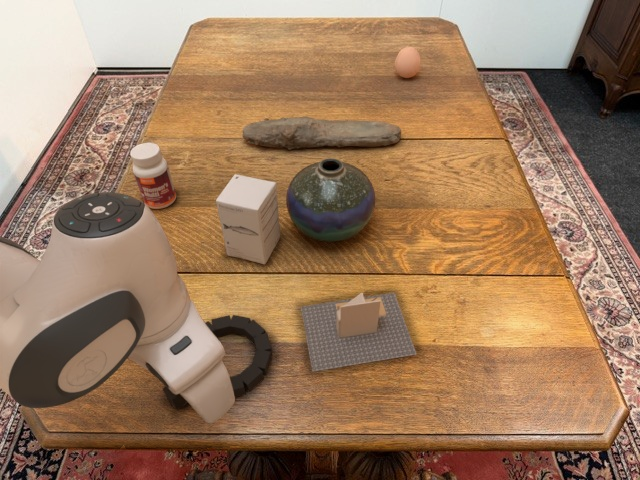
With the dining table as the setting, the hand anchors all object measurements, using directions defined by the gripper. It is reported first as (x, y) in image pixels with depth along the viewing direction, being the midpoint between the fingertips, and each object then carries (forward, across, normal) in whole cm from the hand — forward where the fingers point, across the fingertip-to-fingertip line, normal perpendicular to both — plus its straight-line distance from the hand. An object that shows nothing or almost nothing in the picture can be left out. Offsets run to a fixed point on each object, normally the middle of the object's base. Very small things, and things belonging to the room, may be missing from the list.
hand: (182, 380), depth 61 cm
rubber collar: (+4, 0, +5) cm, 6 cm away
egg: (+6, -33, +93) cm, 98 cm away
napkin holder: (+4, +10, +23) cm, 25 cm away
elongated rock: (+5, -28, +56) cm, 63 cm away
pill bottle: (+4, -37, +20) cm, 42 cm away
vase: (+4, -8, +37) cm, 38 cm away
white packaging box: (+4, -14, +24) cm, 28 cm away
